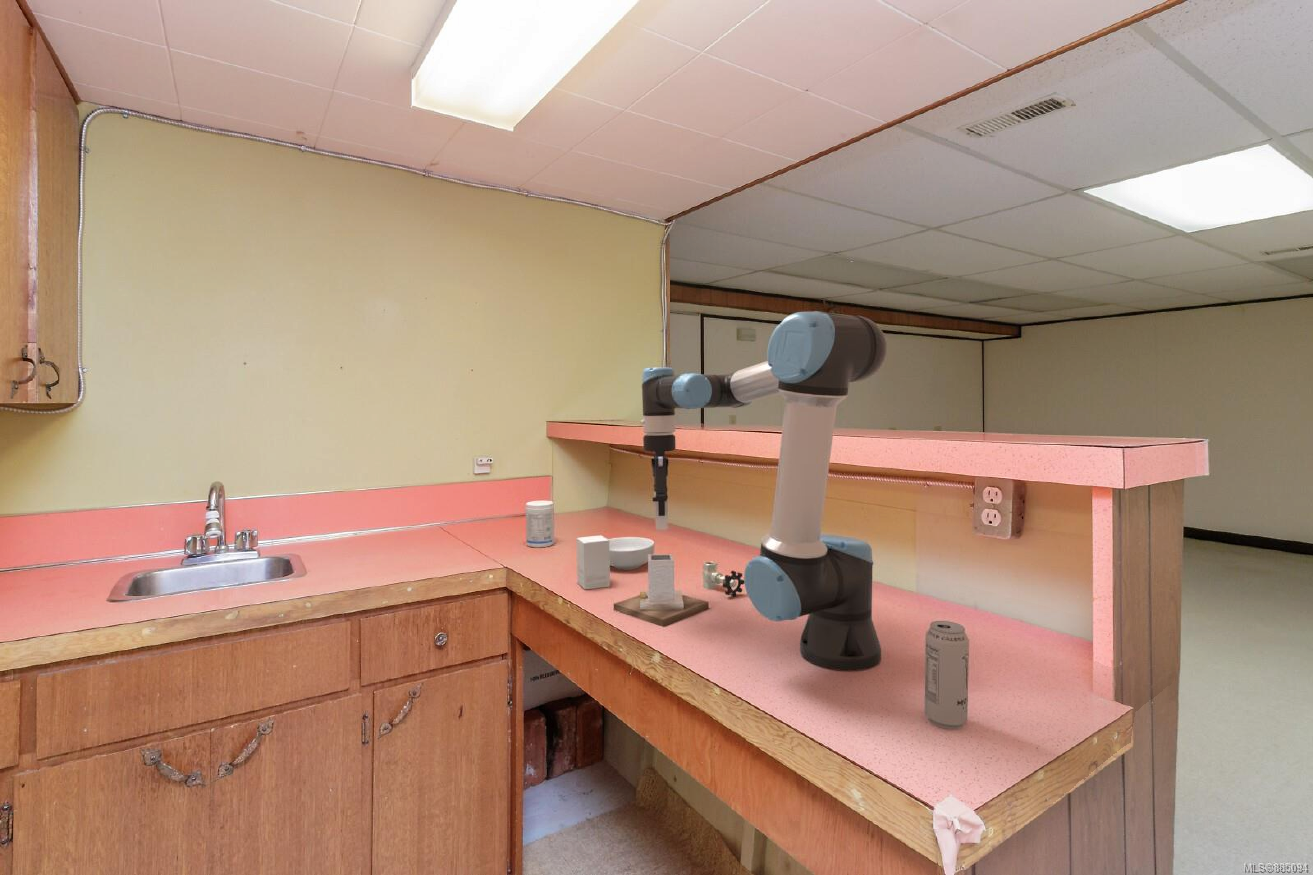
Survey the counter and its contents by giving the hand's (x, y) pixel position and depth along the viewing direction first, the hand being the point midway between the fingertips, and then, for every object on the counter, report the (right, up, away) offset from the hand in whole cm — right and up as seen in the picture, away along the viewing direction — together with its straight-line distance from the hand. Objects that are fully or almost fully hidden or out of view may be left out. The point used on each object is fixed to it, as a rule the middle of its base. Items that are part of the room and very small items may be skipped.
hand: (660, 524), depth 149 cm
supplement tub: (-41, -17, +69) cm, 82 cm away
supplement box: (-18, -20, +22) cm, 34 cm away
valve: (+15, -20, +15) cm, 29 cm away
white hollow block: (0, -19, +1) cm, 19 cm away
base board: (0, -20, +2) cm, 21 cm away
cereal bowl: (-10, -18, +40) cm, 45 cm away
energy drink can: (+44, -24, -51) cm, 71 cm away
